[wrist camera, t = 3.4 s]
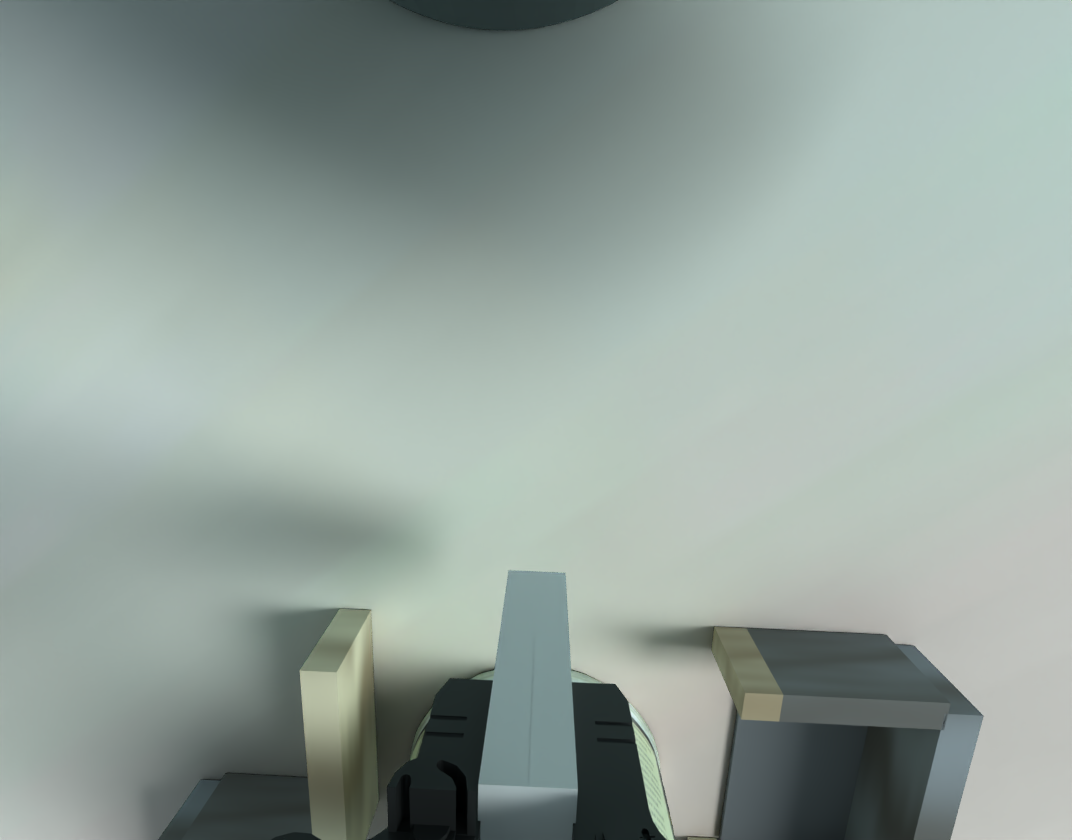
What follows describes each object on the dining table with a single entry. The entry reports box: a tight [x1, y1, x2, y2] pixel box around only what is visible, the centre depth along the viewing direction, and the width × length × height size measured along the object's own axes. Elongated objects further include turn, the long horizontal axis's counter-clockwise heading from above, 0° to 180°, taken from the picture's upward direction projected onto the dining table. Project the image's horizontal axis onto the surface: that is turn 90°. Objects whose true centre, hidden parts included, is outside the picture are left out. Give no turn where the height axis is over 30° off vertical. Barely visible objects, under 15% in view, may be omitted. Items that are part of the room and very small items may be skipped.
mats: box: [719, 711, 868, 840], centre depth 23 cm, size 17×26×1 cm, turn 88°
